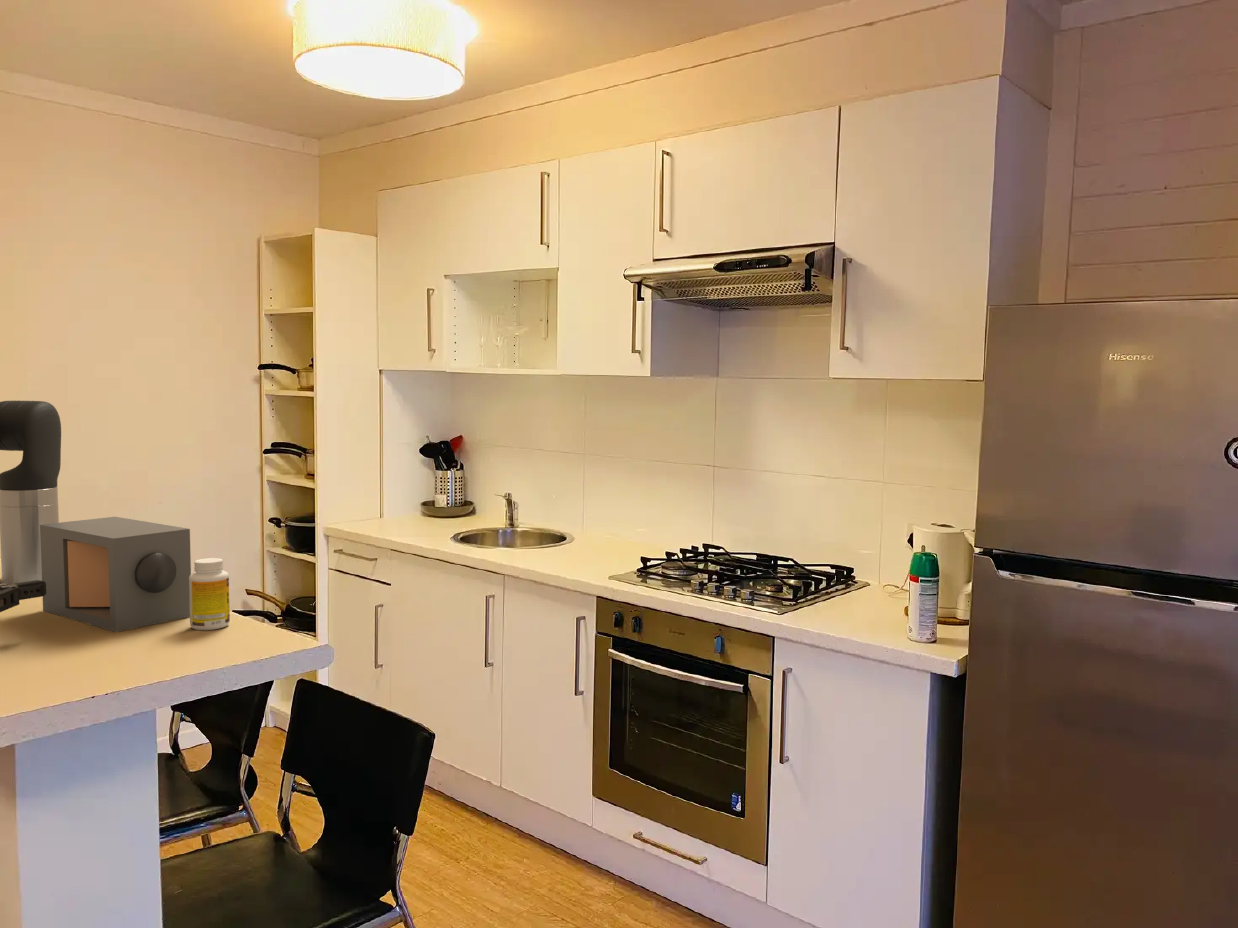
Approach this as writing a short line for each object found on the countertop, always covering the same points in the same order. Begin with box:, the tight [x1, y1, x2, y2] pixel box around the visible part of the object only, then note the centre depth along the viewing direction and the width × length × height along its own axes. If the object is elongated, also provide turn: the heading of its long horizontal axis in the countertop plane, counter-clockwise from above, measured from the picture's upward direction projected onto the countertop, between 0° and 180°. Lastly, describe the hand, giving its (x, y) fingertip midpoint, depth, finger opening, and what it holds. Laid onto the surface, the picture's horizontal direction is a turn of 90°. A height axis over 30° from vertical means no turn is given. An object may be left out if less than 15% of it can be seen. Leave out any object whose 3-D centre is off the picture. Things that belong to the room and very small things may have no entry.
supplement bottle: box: [189, 557, 231, 631], centre depth 141 cm, size 6×6×10 cm
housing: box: [40, 516, 192, 633], centre depth 147 cm, size 23×12×14 cm, turn 57°
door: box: [67, 540, 110, 607], centre depth 145 cm, size 12×2×10 cm, turn 94°
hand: (43, 587), depth 134 cm, fingers closed
